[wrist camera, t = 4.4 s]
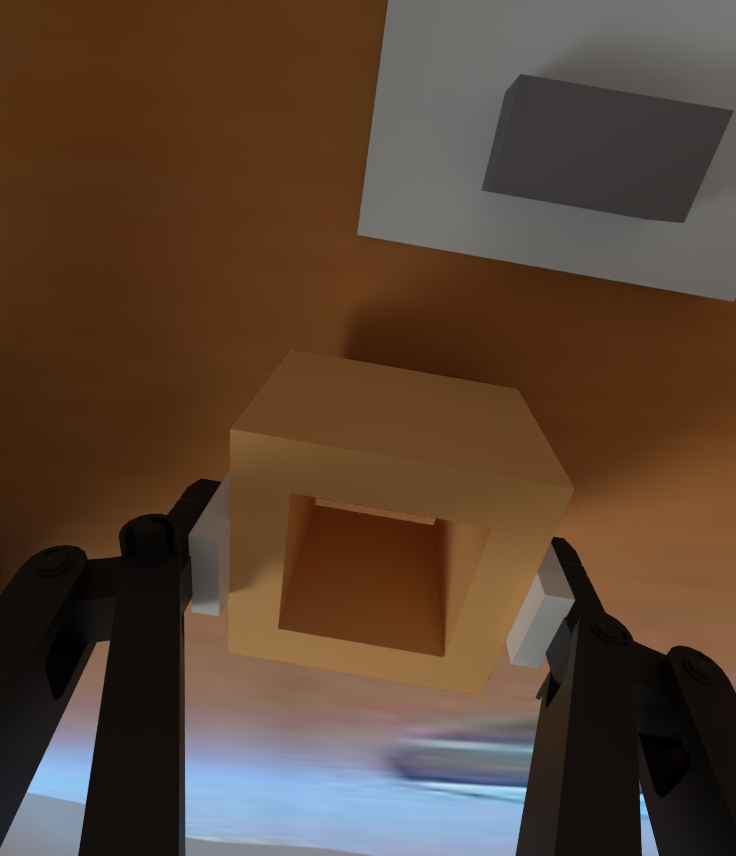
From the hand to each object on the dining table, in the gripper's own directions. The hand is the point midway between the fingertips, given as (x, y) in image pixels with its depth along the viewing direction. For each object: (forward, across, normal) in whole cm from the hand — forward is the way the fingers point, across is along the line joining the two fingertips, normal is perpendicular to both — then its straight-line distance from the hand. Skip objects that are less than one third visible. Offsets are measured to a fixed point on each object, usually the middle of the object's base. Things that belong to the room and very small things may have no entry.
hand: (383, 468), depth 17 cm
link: (0, 0, 0) cm, 0 cm away
